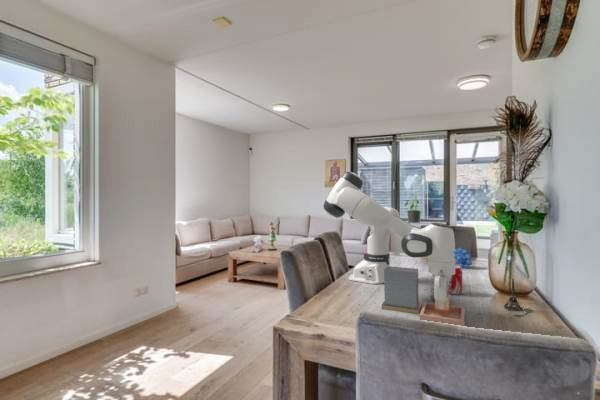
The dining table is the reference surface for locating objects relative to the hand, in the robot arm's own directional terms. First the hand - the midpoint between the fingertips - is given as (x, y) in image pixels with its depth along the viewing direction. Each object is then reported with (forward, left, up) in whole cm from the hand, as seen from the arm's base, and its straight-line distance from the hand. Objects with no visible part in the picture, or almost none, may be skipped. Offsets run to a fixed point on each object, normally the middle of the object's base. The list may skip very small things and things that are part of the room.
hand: (442, 305), depth 113 cm
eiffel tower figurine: (+24, +20, -5) cm, 32 cm away
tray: (0, 0, -4) cm, 4 cm away
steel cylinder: (-3, +19, -4) cm, 20 cm away
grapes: (+6, +86, -5) cm, 86 cm away
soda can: (+3, +33, -5) cm, 34 cm away
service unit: (-15, +5, -4) cm, 16 cm away
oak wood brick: (0, 0, -2) cm, 2 cm away
